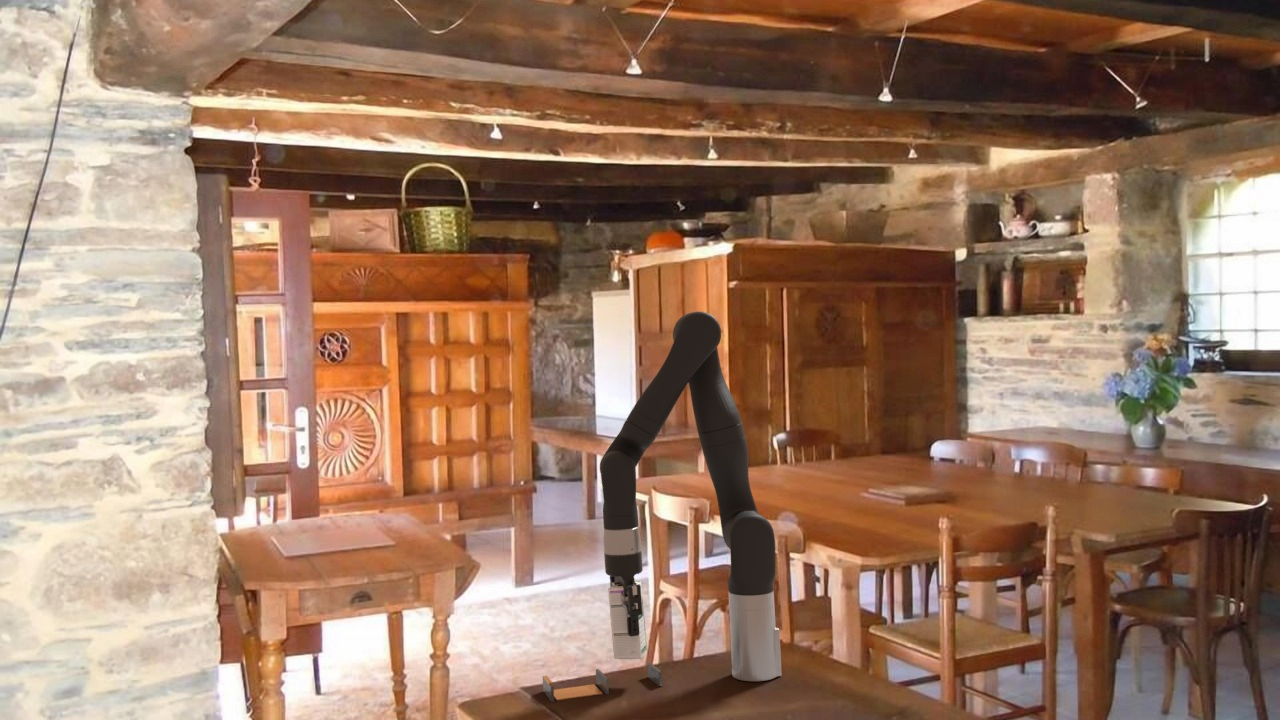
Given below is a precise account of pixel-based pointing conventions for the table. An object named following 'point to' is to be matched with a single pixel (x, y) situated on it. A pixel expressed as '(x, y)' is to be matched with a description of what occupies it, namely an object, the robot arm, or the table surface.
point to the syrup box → (625, 627)
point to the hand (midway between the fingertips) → (627, 631)
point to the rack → (591, 689)
